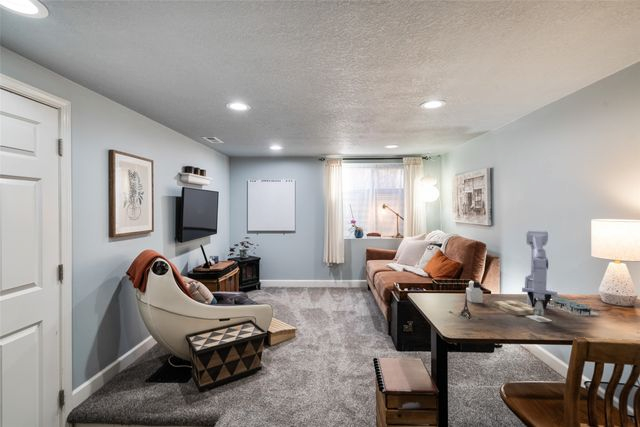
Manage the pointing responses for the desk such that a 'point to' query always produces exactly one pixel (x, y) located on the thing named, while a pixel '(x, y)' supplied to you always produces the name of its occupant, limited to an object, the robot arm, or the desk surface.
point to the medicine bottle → (474, 292)
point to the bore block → (514, 307)
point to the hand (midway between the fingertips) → (538, 307)
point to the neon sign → (573, 307)
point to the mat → (538, 318)
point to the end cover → (538, 307)
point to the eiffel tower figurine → (464, 311)
